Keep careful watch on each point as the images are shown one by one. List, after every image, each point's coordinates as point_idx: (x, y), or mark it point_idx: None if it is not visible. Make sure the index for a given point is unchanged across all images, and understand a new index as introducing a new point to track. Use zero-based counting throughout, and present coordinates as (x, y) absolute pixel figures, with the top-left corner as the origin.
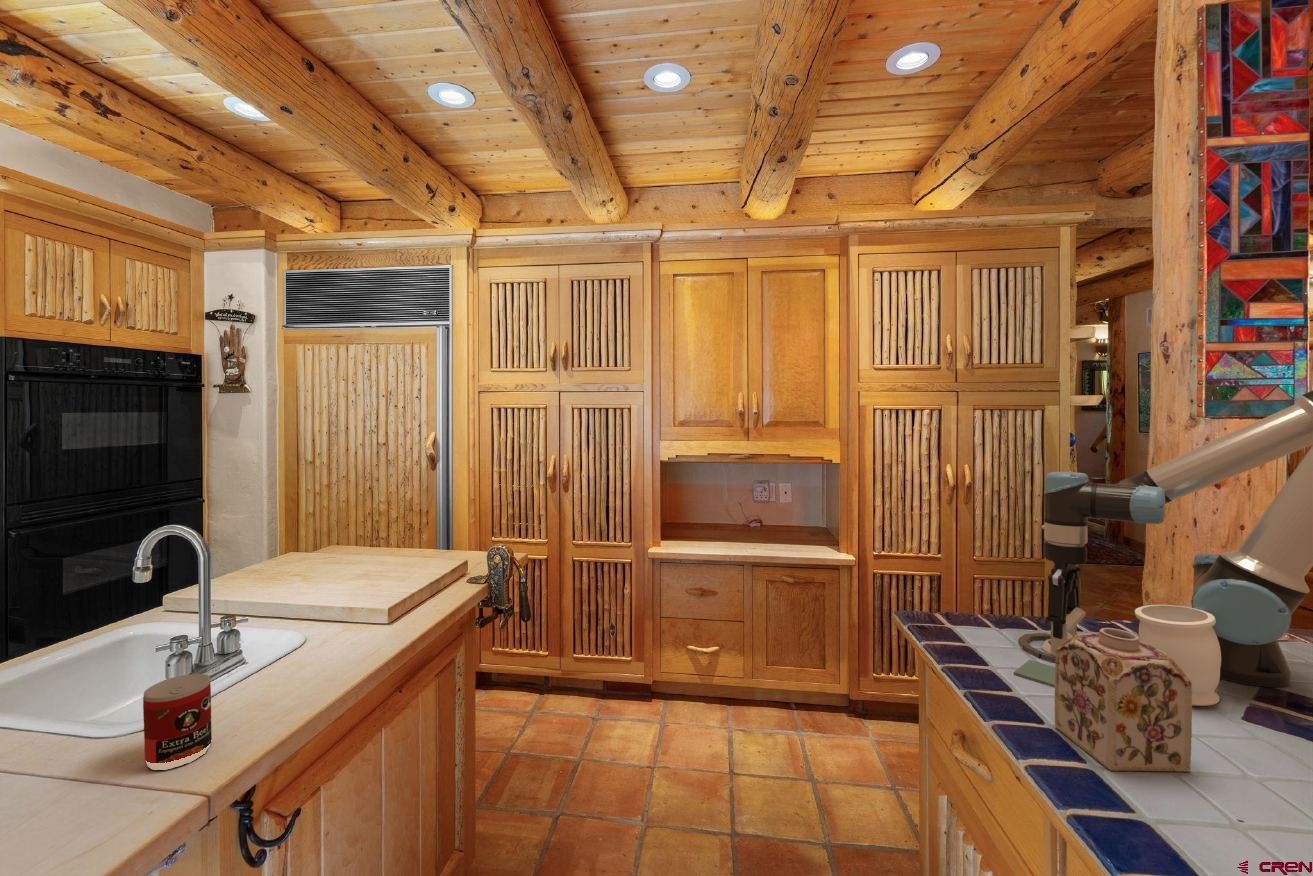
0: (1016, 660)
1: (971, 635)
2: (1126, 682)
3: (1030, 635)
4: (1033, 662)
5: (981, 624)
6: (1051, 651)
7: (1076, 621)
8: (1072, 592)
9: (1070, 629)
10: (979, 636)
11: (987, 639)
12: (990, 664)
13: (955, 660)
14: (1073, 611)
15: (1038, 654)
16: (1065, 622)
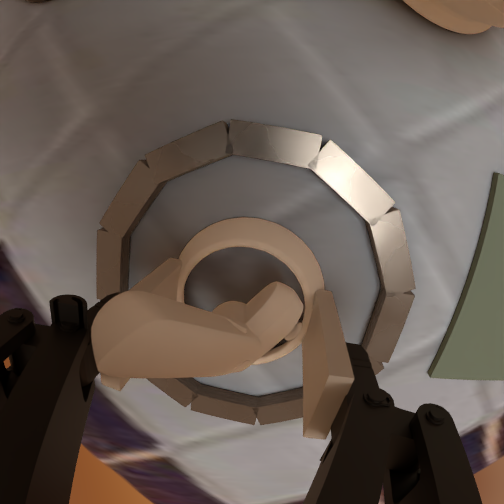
0: (428, 398)
1: (279, 487)
2: None
3: (188, 396)
4: (450, 365)
5: (165, 469)
6: None
7: (215, 325)
8: (35, 487)
9: (245, 326)
10: (273, 477)
11: (286, 466)
12: (475, 424)
13: (470, 463)
14: (145, 374)
15: (380, 367)
16: (378, 392)
